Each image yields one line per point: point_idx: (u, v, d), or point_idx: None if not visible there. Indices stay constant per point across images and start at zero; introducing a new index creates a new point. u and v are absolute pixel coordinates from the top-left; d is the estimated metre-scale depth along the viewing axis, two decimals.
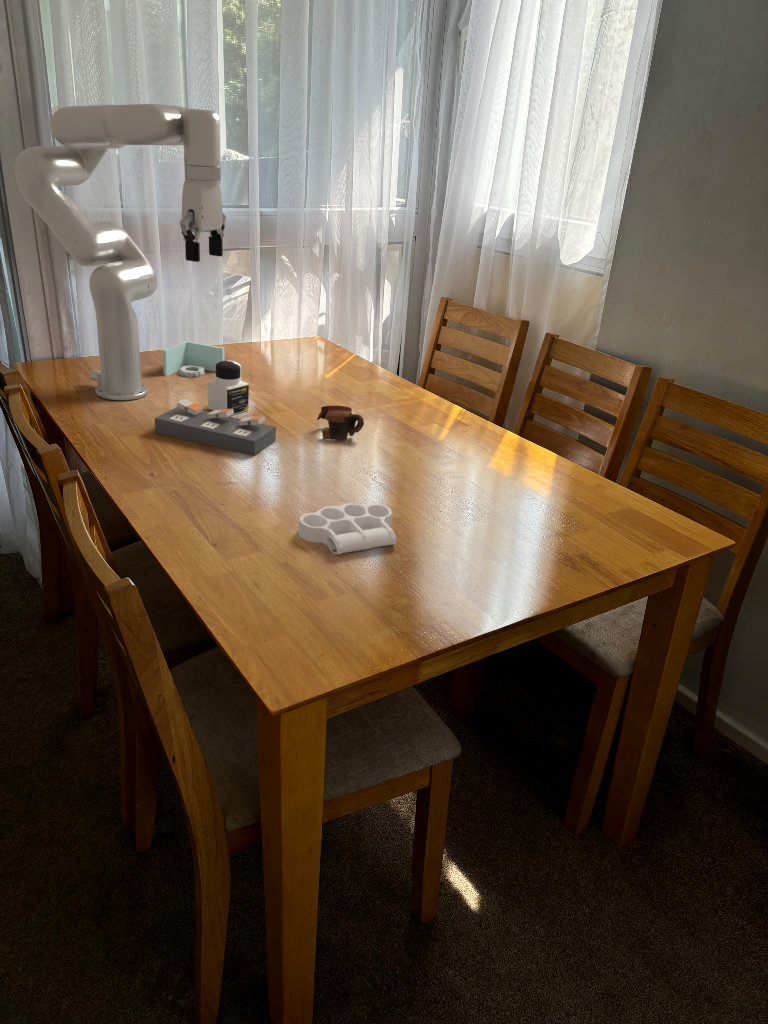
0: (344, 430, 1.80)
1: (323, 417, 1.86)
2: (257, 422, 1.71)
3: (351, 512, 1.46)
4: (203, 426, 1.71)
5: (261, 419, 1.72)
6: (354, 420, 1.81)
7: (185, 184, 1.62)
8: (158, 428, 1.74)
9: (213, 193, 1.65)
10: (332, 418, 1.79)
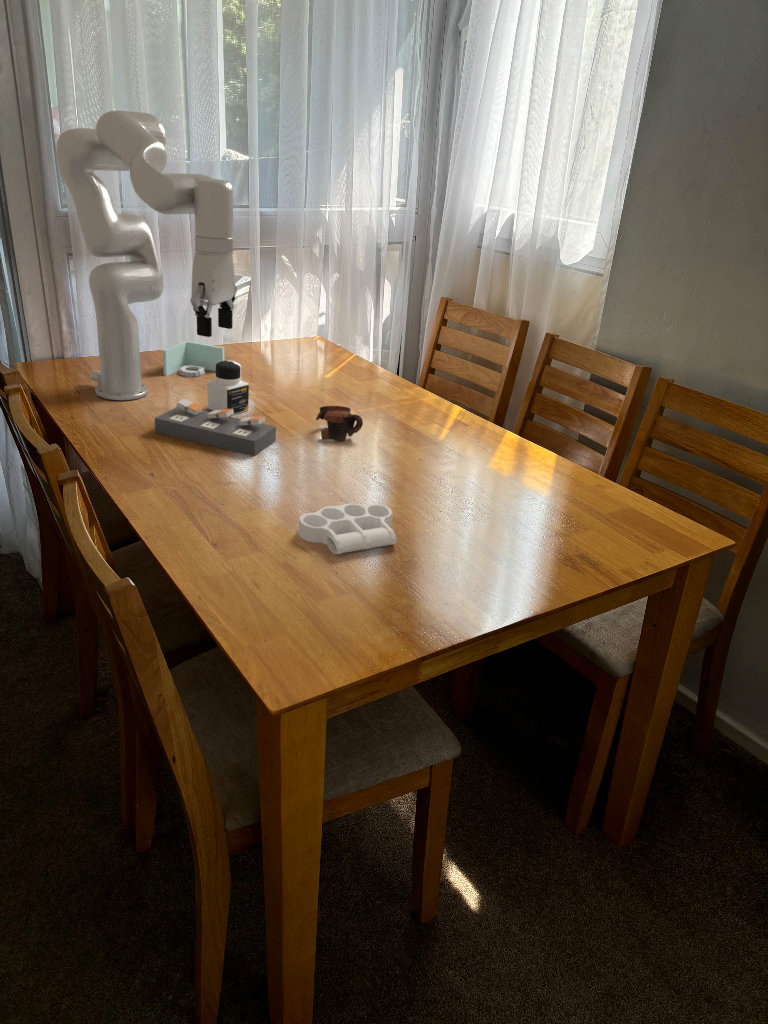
0: (343, 430, 1.79)
1: (322, 417, 1.85)
2: (257, 422, 1.71)
3: (351, 512, 1.46)
4: (203, 426, 1.71)
5: (261, 419, 1.72)
6: (353, 420, 1.80)
7: (196, 257, 1.54)
8: (158, 428, 1.74)
9: (225, 265, 1.58)
10: (331, 418, 1.79)
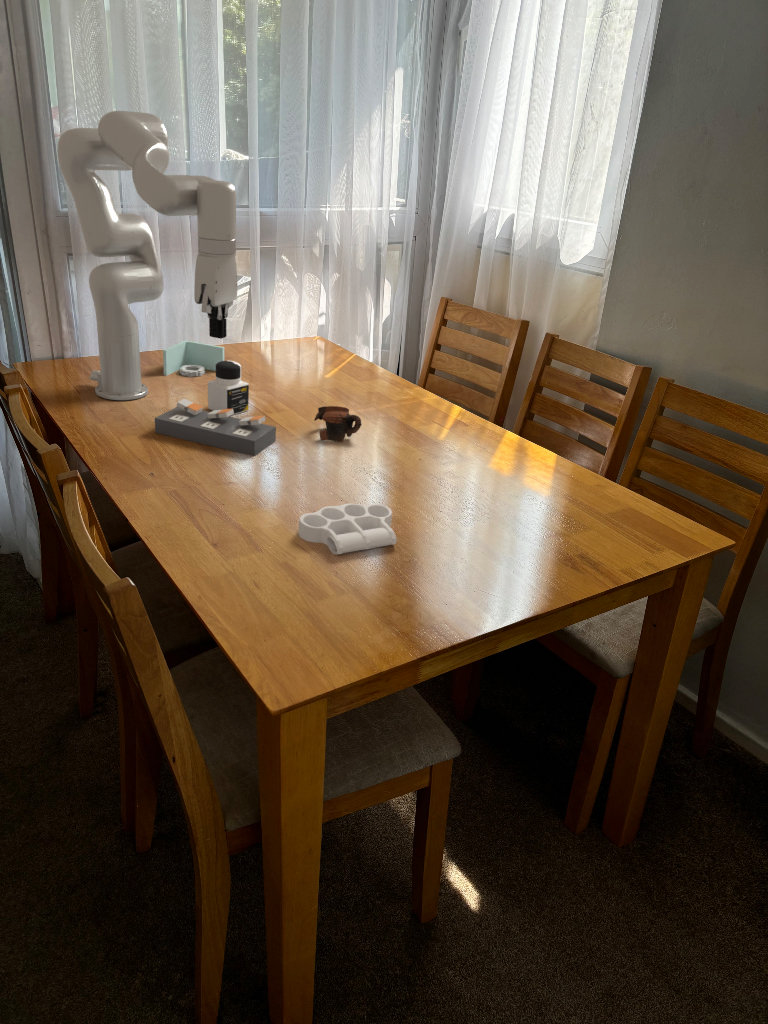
0: (342, 430, 1.79)
1: (320, 418, 1.85)
2: (257, 422, 1.71)
3: (351, 512, 1.46)
4: (203, 426, 1.71)
5: (261, 419, 1.72)
6: (351, 421, 1.80)
7: (198, 258, 1.54)
8: (158, 428, 1.74)
9: (227, 266, 1.58)
10: (329, 419, 1.78)
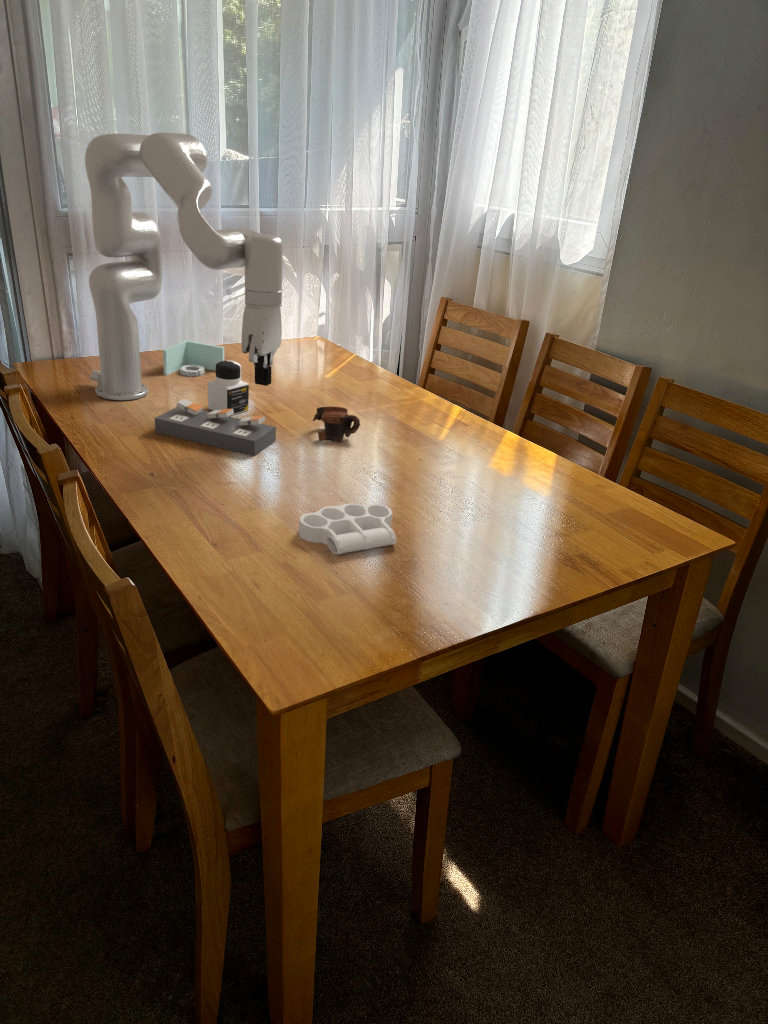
0: (340, 431, 1.79)
1: (319, 418, 1.85)
2: (257, 422, 1.71)
3: (351, 512, 1.46)
4: (203, 426, 1.71)
5: (261, 419, 1.72)
6: (350, 421, 1.80)
7: (246, 310, 1.58)
8: (158, 428, 1.74)
9: (273, 316, 1.61)
10: (328, 419, 1.78)
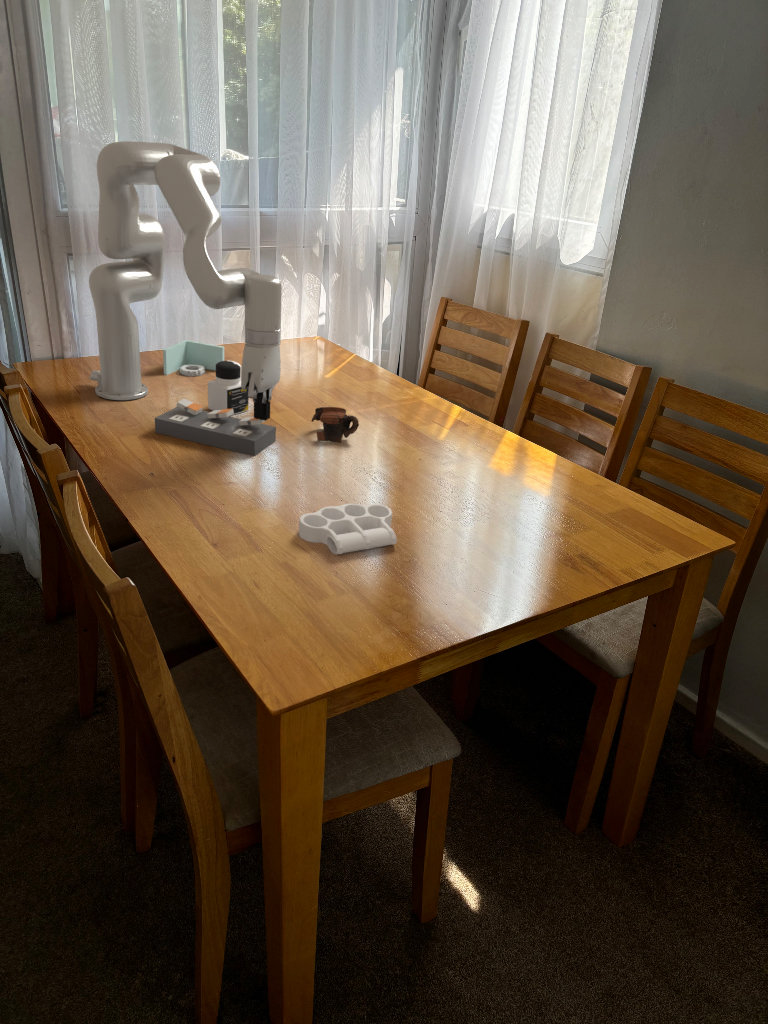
0: (339, 431, 1.79)
1: (317, 419, 1.84)
2: (257, 422, 1.71)
3: (351, 512, 1.46)
4: (203, 426, 1.71)
5: None
6: (349, 421, 1.80)
7: (246, 348, 1.61)
8: (158, 428, 1.74)
9: (272, 354, 1.65)
10: (327, 420, 1.78)
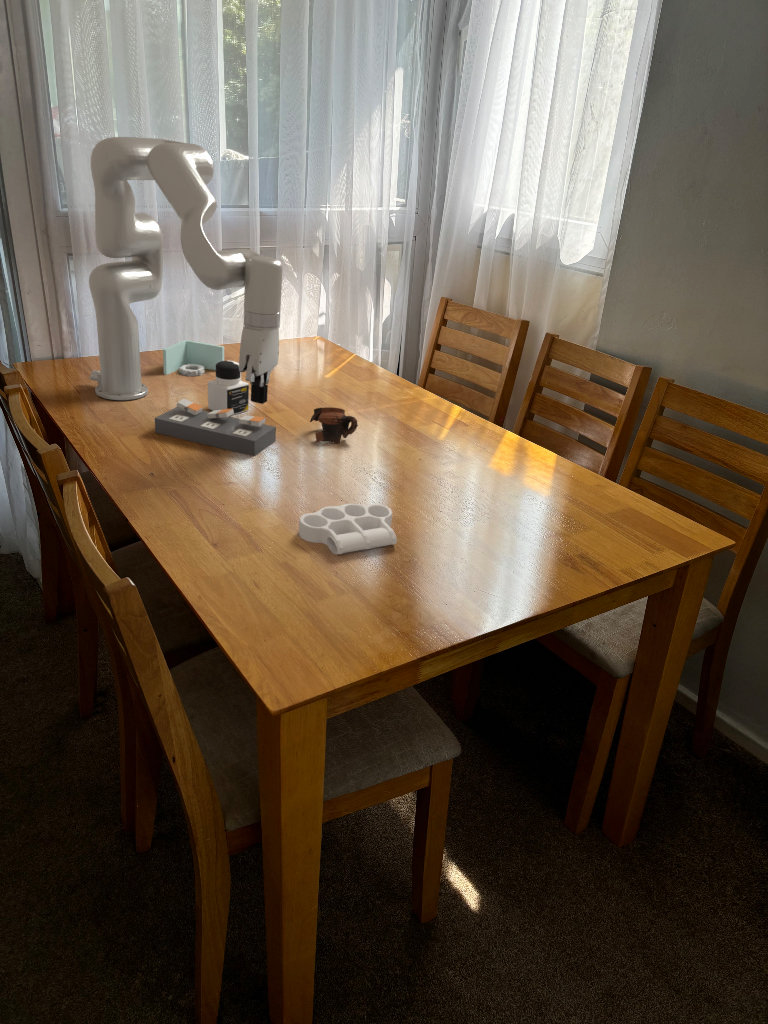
0: (338, 432, 1.78)
1: (316, 419, 1.84)
2: (257, 424, 1.71)
3: (351, 512, 1.46)
4: (203, 426, 1.71)
5: (261, 421, 1.72)
6: (347, 422, 1.79)
7: (244, 331, 1.60)
8: (158, 428, 1.74)
9: (271, 337, 1.63)
10: (325, 420, 1.78)
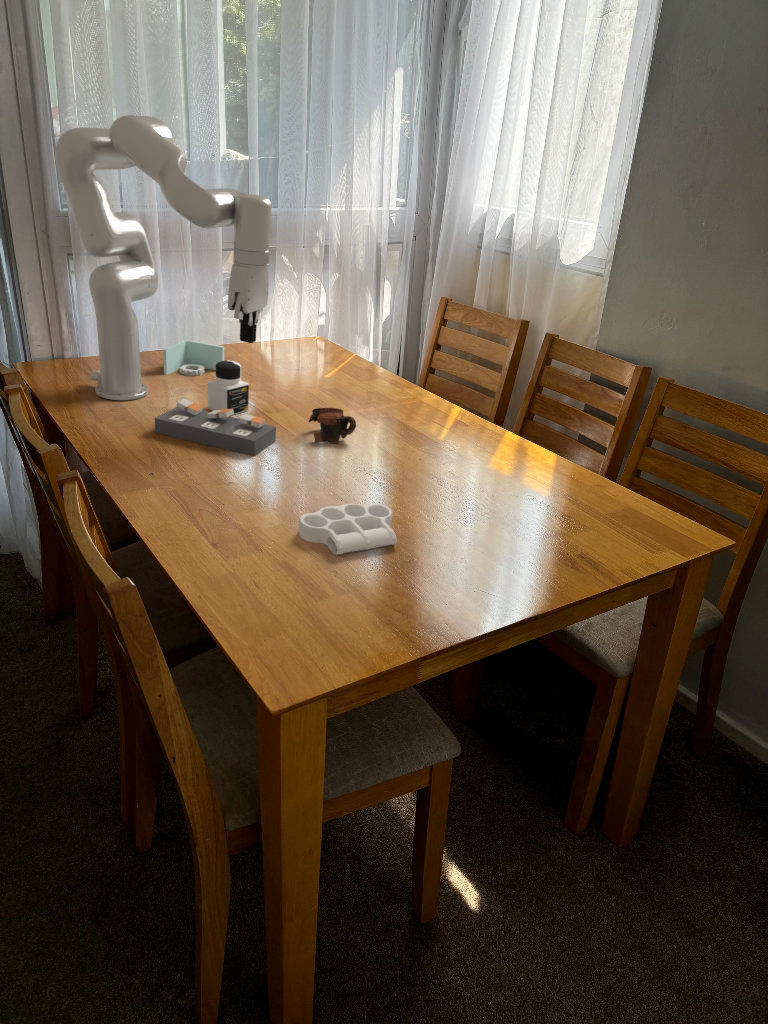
0: (336, 432, 1.78)
1: (314, 419, 1.84)
2: (257, 425, 1.71)
3: (351, 512, 1.46)
4: (203, 426, 1.71)
5: (261, 423, 1.72)
6: (346, 422, 1.79)
7: (233, 268, 1.64)
8: (158, 428, 1.74)
9: (260, 276, 1.67)
10: (324, 420, 1.77)
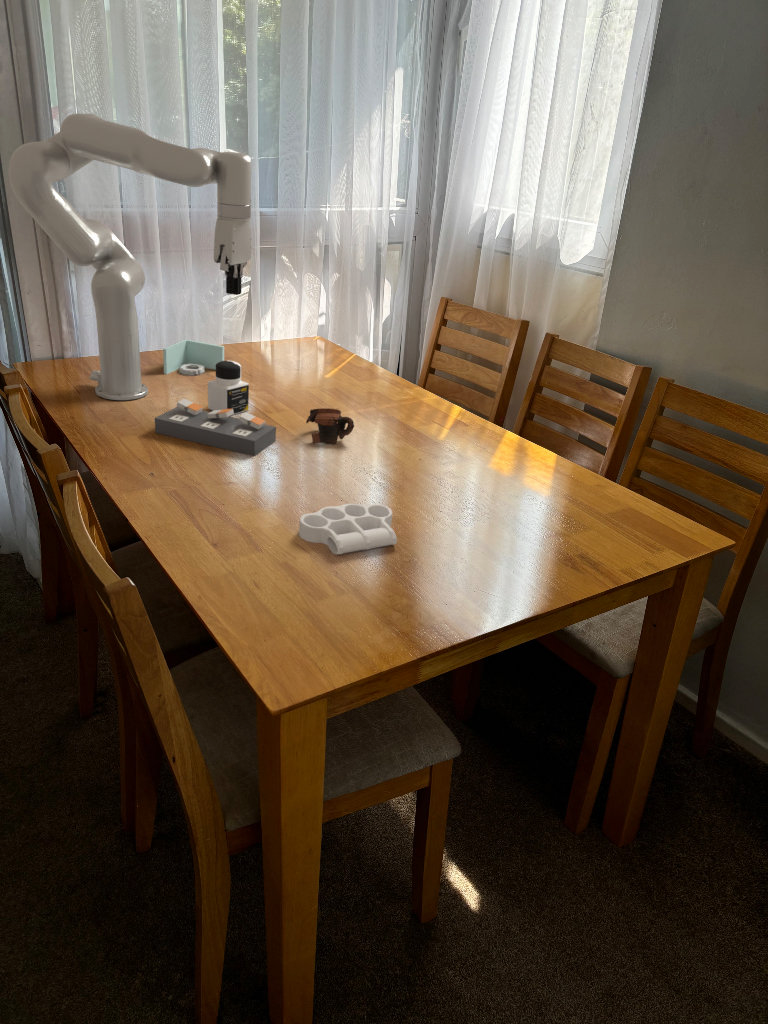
0: (334, 433, 1.77)
1: (312, 420, 1.83)
2: (257, 427, 1.72)
3: (351, 512, 1.46)
4: (203, 426, 1.71)
5: (261, 424, 1.73)
6: (344, 423, 1.78)
7: (218, 221, 1.74)
8: (158, 428, 1.74)
9: (243, 229, 1.78)
10: (322, 421, 1.77)
